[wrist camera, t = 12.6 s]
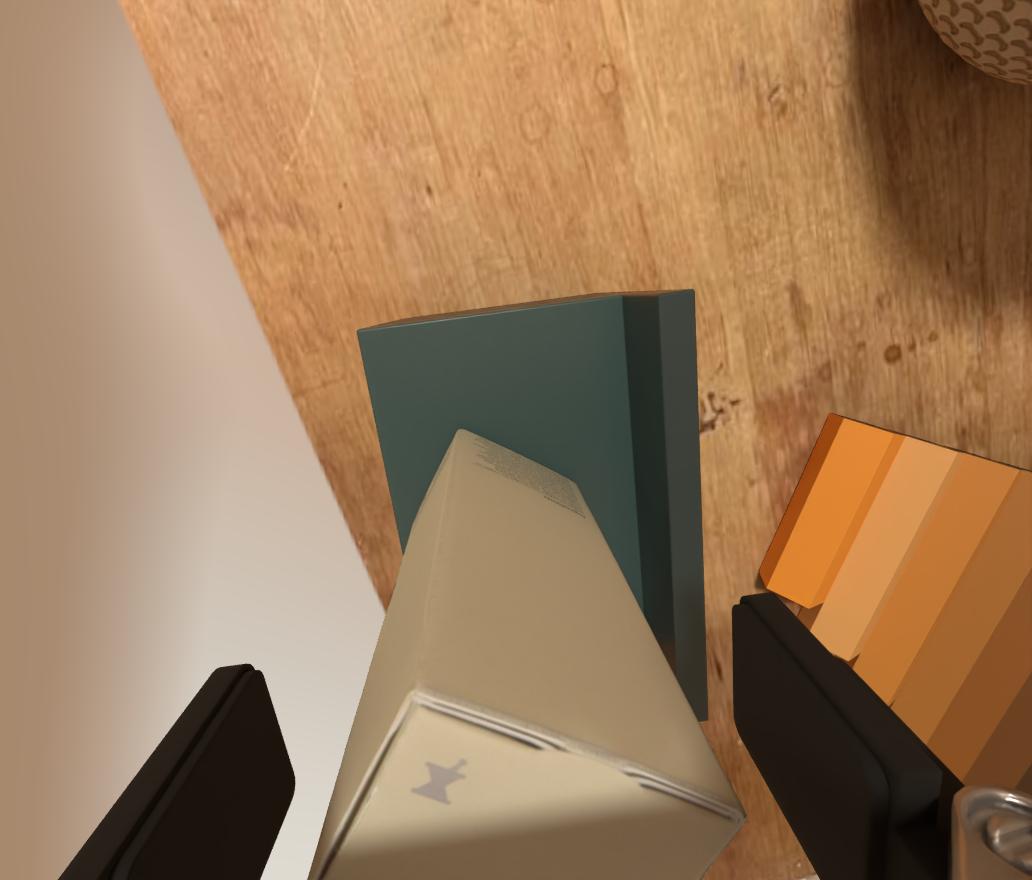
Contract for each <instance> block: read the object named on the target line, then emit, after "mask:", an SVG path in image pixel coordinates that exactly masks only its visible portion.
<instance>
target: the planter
mask: <svg viewBox="0 0 1032 880" xmlns="http://www.w3.org/2000/svg"><path fill="white" fill-rule="evenodd" d="M917 1H918V3H919V5H920V7H921V9H922V10H923V12H924V14H925V16H926V18H927V20H928V22H929V23H930V25H931V26H932V27H933V29H934V30H935V31H936V33H937V34H938V35H939V37H940V38H941V39H942V40H943V42H944V43H945V44H946V45H947V46H949V47H950V48H951V49H952V50H953V51H954V52H955V53H956V54H958V55H959V56H960V57H961V58H962V59H963V60H965V61H966V62H968V63H970V64H971V65H973V66H975V67H977V68H978V69H980V70H982V71H984V72H985V73H987V74H989V75H991V76H994V77H997V78H1000V79H1003V80H1006V81H1009V82H1012V83H1017V84H1026V85H1032V0H917Z"/></svg>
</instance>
